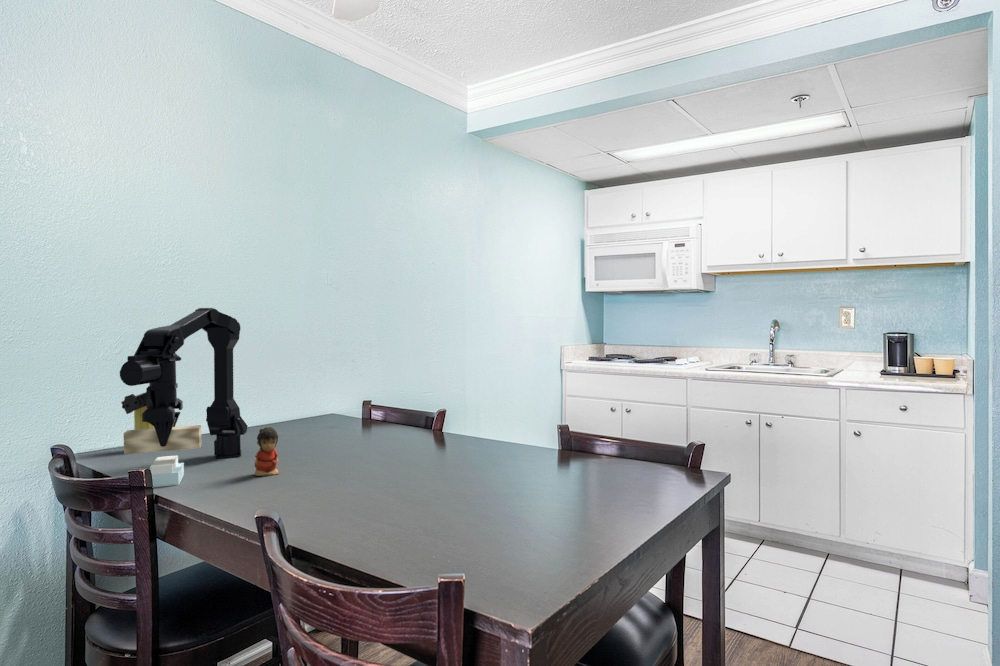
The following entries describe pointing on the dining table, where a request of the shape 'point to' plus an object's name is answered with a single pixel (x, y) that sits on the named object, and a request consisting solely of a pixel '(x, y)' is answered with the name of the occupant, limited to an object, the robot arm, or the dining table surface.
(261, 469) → the figurine
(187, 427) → the beam
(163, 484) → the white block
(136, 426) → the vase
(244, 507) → the dining table surface
